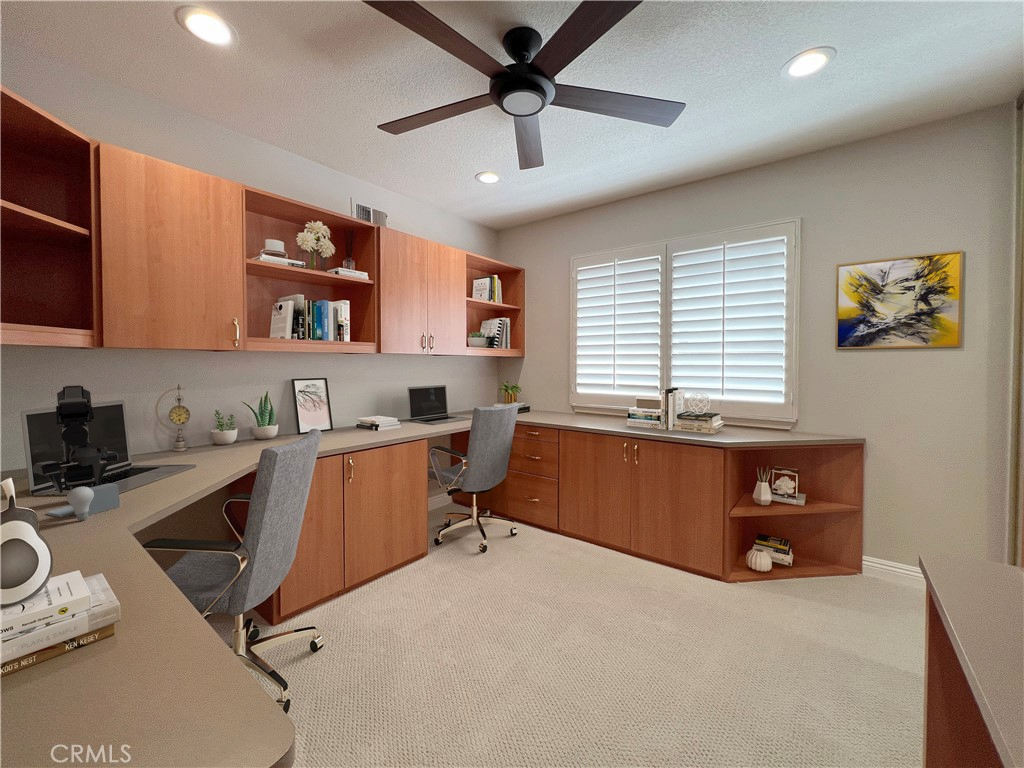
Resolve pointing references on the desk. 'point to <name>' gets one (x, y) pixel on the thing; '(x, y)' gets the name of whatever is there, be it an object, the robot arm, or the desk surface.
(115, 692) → the desk surface
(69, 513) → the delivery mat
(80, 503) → the lightbulb
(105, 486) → the blue-grey rectangular block
